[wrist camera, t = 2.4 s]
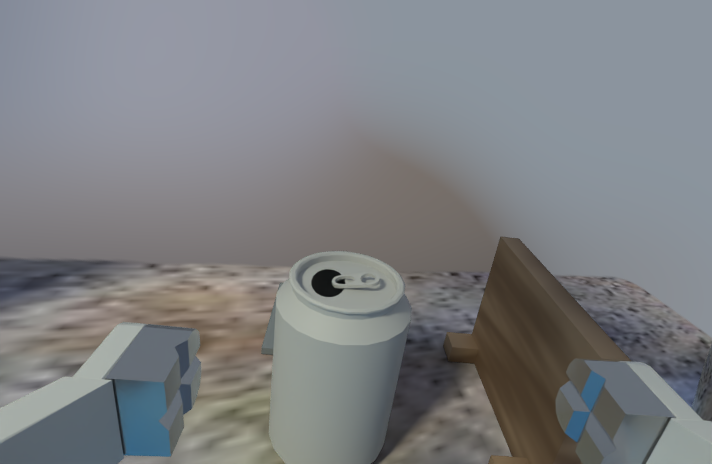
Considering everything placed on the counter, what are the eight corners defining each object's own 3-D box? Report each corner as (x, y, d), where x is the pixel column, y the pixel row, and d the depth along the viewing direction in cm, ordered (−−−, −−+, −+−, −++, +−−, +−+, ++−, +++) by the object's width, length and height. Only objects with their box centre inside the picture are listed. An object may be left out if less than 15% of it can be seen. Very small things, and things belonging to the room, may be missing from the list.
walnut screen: (495, 504, 24) (556, 354, 20) (443, 345, 37) (472, 233, 32) (594, 510, 24) (675, 364, 20) (508, 351, 37) (546, 241, 33)
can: (279, 385, 30) (289, 236, 25) (380, 395, 30) (409, 250, 26) (255, 483, 23) (262, 305, 18) (386, 495, 24) (427, 323, 19)
